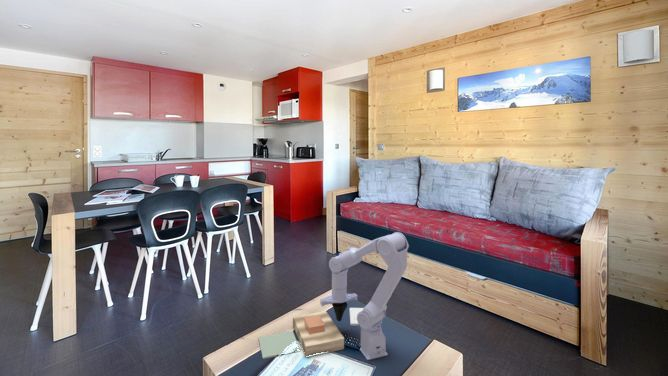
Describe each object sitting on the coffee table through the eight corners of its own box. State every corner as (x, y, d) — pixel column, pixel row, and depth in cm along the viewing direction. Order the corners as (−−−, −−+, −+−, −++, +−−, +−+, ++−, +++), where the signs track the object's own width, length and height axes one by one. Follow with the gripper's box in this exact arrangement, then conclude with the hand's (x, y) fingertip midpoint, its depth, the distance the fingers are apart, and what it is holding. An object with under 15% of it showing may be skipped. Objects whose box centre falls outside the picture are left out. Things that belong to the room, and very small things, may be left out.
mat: (300, 351, 109) (300, 349, 109) (262, 359, 105) (262, 357, 105) (292, 332, 120) (292, 330, 120) (258, 339, 116) (258, 337, 116)
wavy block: (344, 348, 111) (344, 338, 110) (306, 357, 106) (306, 346, 105) (325, 319, 129) (325, 310, 129) (292, 326, 124) (292, 316, 124)
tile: (325, 331, 114) (325, 324, 114) (309, 334, 112) (309, 327, 112) (319, 321, 121) (319, 315, 121) (304, 324, 119) (304, 317, 119)
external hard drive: (367, 311, 138) (370, 327, 125) (349, 311, 138) (350, 327, 125) (367, 307, 137) (370, 323, 125) (349, 307, 138) (350, 323, 125)
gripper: (352, 279, 125) (351, 311, 126) (317, 284, 119) (317, 317, 121) (359, 286, 118) (359, 320, 120) (323, 292, 113) (323, 327, 115)
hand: (338, 319), depth 120 cm, fingers closed
